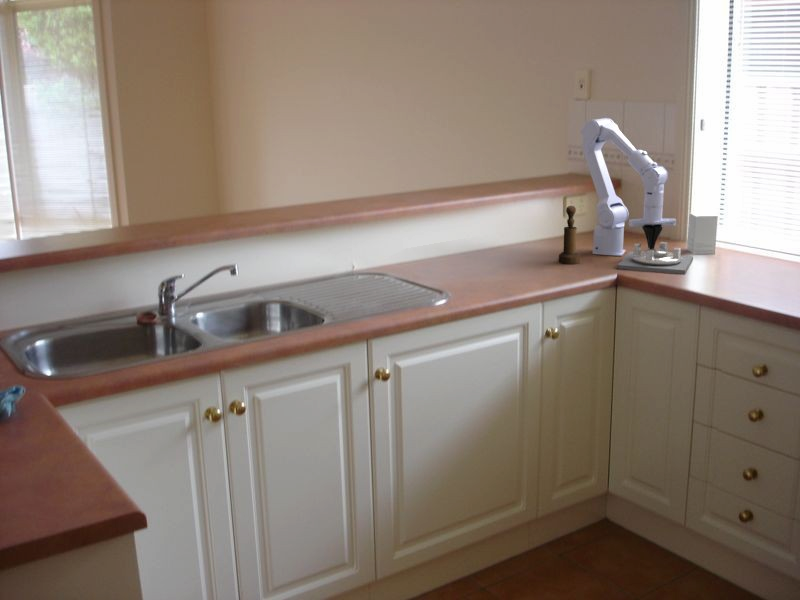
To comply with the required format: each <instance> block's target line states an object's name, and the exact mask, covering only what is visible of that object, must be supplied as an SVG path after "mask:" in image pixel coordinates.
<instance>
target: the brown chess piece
mask: <svg viewBox="0 0 800 600" xmlns="http://www.w3.org/2000/svg"><path fill="white" fill-rule="evenodd" d="M565 212H566V214H567V216H568V219H566V222H567V223H566V224H567V226H564V228H563V251H562V252H561V253H559V254H558V263H560V264H563V265H564V264H565V265H577V264H579V263H581V254H579V252H577V232H578V230H577V229H578V228H577V227H576V226H574V224H575V219H574V215H576V212H577V208H576V207H575V205H568V206H567V207H566V209H565Z"/></svg>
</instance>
